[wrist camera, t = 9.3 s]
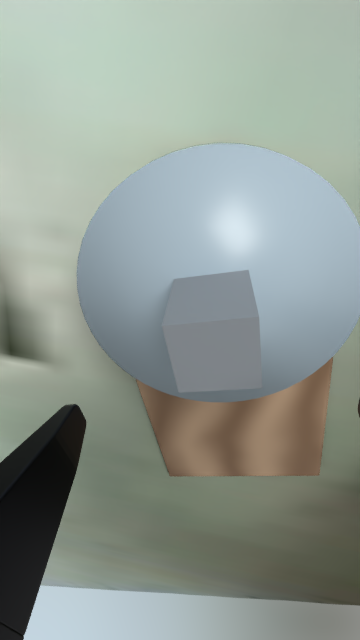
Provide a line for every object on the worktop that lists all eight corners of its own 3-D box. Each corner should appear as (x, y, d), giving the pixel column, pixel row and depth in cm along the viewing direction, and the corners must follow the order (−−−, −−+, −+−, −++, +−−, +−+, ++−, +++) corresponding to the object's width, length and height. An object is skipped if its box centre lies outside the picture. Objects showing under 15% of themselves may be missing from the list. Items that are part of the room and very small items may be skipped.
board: (330, 354, 23) (333, 358, 23) (317, 470, 32) (319, 475, 31) (134, 368, 26) (133, 372, 26) (170, 471, 35) (170, 476, 34)
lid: (385, 107, 11) (490, 98, 7) (342, 384, 18) (380, 461, 14) (39, 176, 13) (-40, 201, 9) (125, 395, 21) (102, 464, 17)
